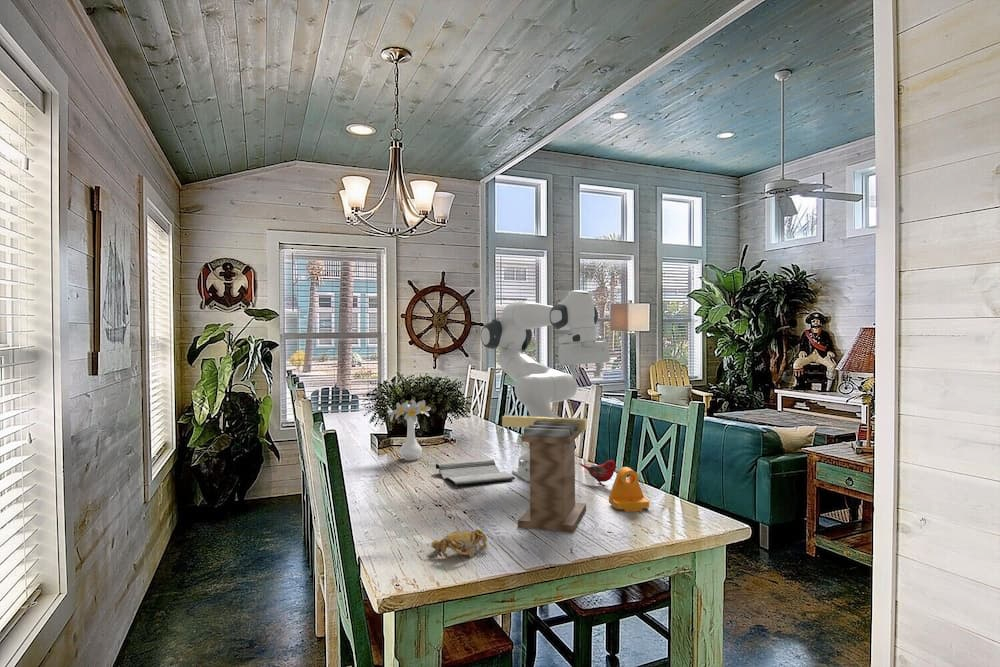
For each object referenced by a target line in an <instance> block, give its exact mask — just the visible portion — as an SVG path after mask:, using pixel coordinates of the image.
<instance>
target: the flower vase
mask: <svg viewBox="0 0 1000 667" xmlns="http://www.w3.org/2000/svg"><path fill="white" fill-rule="evenodd" d="M410 401H411V404H410V403H408V400H406V401H405V402H403V403H402V404H400V402H397V403H395V404H396V409H394V410H393V409H391V407H390V406H389V405H388V404H387V405H386V406H387V409H388V410H387V414H388V416H389V421H390V423H392V422H393V419H395V420H397V419H398V418H400V416H401V415H404V416H403V419H404V420H406V425H407V427H406V428H407V429H406V430H407V432H406V439H405V441H404V444H402V446H401V447H400V450H399V452H400V455H401V456H402V457H403V459H404V460H405V461H416V460H419V458H420V457H419V456H421V455H422V454H423V453H422V452H423V449H422V446H421V445H420V444H419V442H418V441H417V439H416V433H415V422H416V421H417V415H419V414H421V415H423V414H425V415H426V416H427V417H430V413H429V411H431V409H432V408H431V406H428V405H426V400H424V399H423V400H421V401H418V402H416V400H414V399H411V400H410ZM394 417H395V418H394Z"/></svg>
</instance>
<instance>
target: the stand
mask: <svg viewBox="0 0 1000 667" xmlns="http://www.w3.org/2000/svg"><path fill="white" fill-rule="evenodd" d="M582 432H583V430H577V423H555V422H534V425H529V428H528V427H523V434H522V435H521V442H526V443H528V442H530V443H529V445H530V481H529V506H528V508H527V509H526V510H525V511H524V513H523V514H522V515H520V517H519V519H518V520H517V528H523V529H533V530H543V531H550V532H551V531H552V532H563V533H572V534H573V533H575V532H576V528H577V527H578V525H579V523H581V520H582V519H583V517H584V514H585V512H586V511H587V503H586V502H576V471H575V470H576V467H575V466H576V465H575V464H576V463H575V461H576V457H575V455H576V451H575V450H576V449H575V448H576V445H575V443H576V442H575V440H576V439H577V438H578V437H579V435H580V434H581V433H582Z"/></svg>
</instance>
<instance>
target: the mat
mask: <svg viewBox="0 0 1000 667" xmlns="http://www.w3.org/2000/svg"><path fill="white" fill-rule="evenodd" d="M435 469H436V470H439V472H438V474H440V476H441V477H442V478H443V480H447V479H448V480H449V481H451V482H453V483H454V484H455V486H457V487H458V488H459V487H460V486H462V485H471V484H481V483H492V482H501V481H509V482H512V481H513V480H516V477H515V476H514V475H513V474H511V473H509V472H507V471H502V472H501V471H499V468H498V466H497V465H496V462H495V459H493V458H484V459H475V460H462V461H449V462H448V461H447V462H439V463H435Z"/></svg>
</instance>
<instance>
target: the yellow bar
mask: <svg viewBox="0 0 1000 667" xmlns="http://www.w3.org/2000/svg"><path fill="white" fill-rule="evenodd" d="M534 422H555V423H577V430H582V431H587V429H588V418H584V417H583V418H582V417H581V418H577V417H560V416H559V417H537V416H530V415H511V414H509V415H505V414H504V415H503V416H501V426H502V427H506V428H507V427H508V428H509V427H510V428H511V427H512V428H513V427H514V428H529V425H534Z"/></svg>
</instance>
